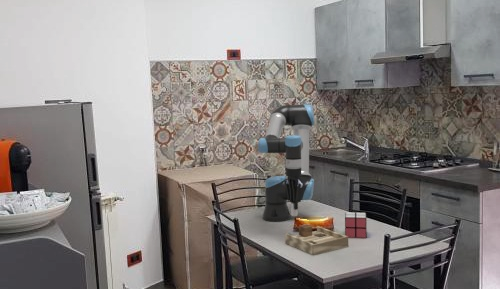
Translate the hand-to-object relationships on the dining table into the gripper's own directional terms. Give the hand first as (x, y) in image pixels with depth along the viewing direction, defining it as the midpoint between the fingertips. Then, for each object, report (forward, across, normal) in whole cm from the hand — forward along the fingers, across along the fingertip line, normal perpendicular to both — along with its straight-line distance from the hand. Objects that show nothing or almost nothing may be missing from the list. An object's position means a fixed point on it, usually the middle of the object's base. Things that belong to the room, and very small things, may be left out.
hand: (294, 215), depth 245 cm
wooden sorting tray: (+11, +16, 0) cm, 19 cm away
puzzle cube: (+11, +16, +25) cm, 32 cm away
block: (+8, +8, 0) cm, 11 cm away
